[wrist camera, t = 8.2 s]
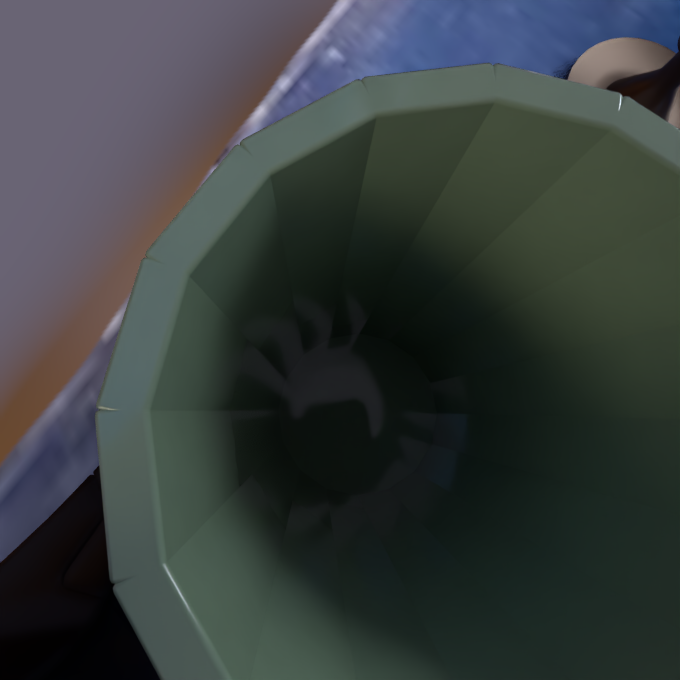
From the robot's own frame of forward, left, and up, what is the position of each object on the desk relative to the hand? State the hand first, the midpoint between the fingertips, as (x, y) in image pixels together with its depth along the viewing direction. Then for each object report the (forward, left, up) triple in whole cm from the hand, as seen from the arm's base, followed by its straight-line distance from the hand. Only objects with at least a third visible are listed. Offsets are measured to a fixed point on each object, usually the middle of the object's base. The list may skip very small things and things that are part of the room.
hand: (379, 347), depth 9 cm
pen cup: (-1, 0, -7) cm, 7 cm away
